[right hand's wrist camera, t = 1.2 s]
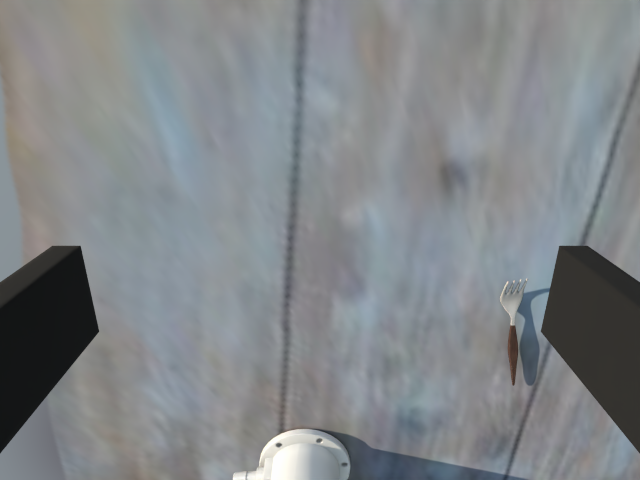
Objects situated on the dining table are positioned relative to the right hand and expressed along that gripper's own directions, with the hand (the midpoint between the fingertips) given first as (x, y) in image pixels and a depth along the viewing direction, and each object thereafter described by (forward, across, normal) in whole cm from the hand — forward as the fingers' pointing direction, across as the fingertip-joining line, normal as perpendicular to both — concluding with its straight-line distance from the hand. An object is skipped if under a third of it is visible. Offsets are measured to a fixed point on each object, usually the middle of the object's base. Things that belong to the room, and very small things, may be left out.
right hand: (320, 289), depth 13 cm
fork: (+36, +23, -25) cm, 49 cm away
